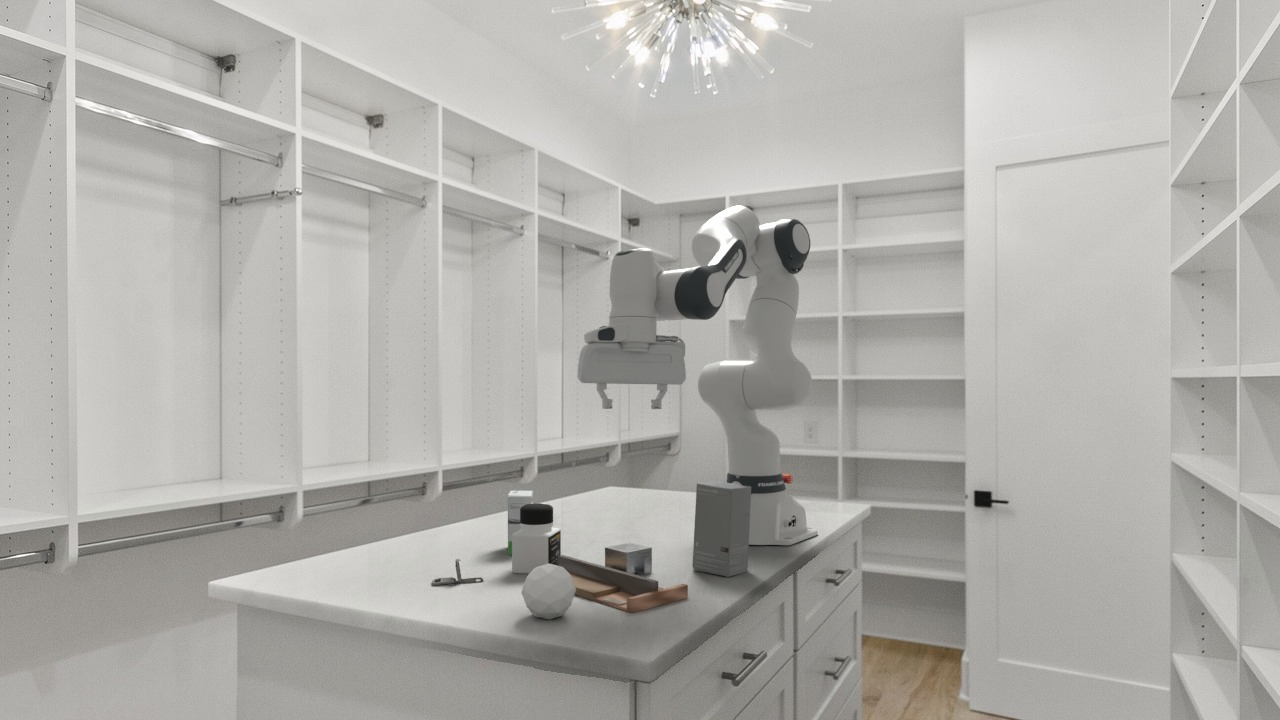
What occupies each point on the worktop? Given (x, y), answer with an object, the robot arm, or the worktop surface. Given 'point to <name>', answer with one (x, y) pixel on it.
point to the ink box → (516, 512)
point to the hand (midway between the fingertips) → (632, 408)
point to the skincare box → (721, 528)
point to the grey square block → (629, 558)
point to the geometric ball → (548, 591)
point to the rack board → (618, 586)
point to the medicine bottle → (535, 539)
